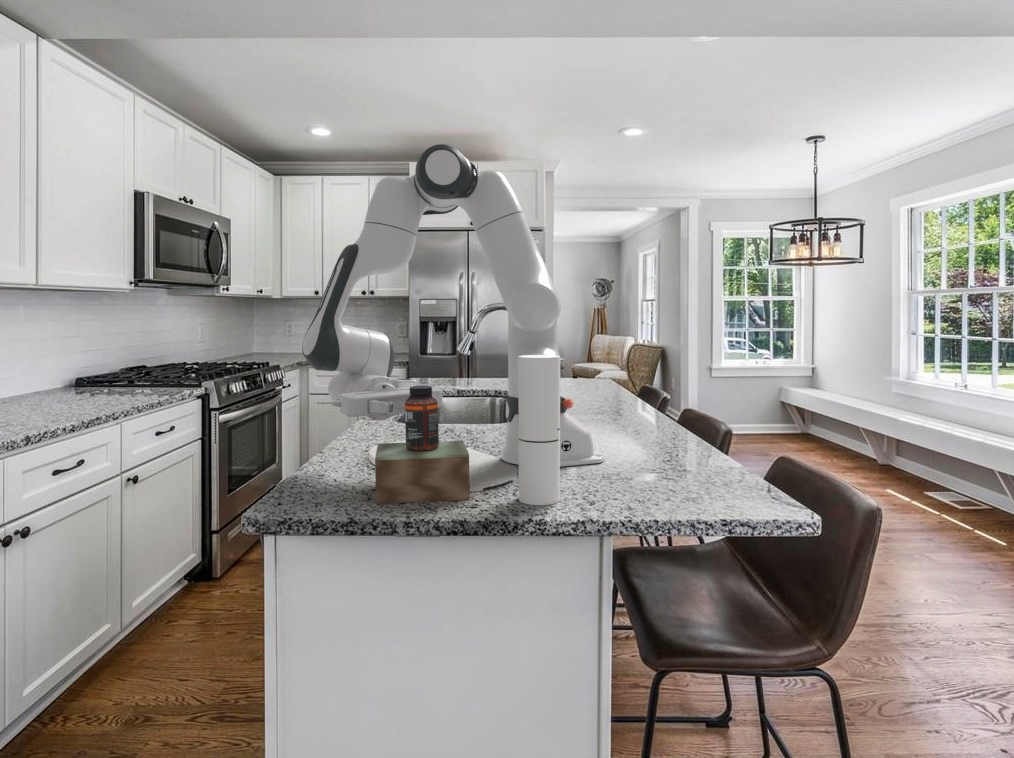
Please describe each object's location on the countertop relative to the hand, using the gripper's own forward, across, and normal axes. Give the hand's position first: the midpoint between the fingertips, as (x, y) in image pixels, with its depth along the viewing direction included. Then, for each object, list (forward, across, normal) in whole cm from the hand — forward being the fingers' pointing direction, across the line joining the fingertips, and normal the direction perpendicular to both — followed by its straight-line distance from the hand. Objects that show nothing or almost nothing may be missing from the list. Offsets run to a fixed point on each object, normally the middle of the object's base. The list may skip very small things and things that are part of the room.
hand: (412, 405), depth 117 cm
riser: (+3, 0, +16) cm, 16 cm away
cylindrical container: (+20, +13, +16) cm, 29 cm away
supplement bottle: (+3, 0, +8) cm, 8 cm away
